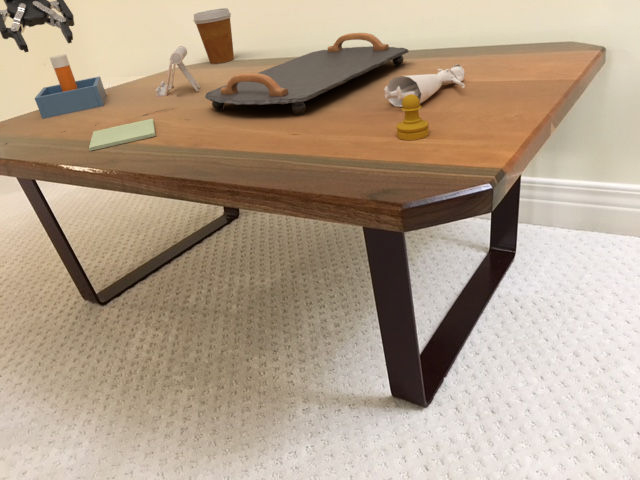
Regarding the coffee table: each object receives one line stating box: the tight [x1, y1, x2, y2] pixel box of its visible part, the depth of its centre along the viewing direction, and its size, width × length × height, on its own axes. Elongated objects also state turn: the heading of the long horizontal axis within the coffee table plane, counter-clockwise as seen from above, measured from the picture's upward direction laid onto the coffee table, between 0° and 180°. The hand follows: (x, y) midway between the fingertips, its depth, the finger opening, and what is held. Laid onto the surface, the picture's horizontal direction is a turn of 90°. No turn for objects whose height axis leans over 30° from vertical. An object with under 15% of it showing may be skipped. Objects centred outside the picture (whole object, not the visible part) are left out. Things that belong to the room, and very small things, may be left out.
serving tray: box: [204, 32, 410, 117], centre depth 97 cm, size 39×23×6 cm, turn 144°
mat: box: [88, 118, 157, 152], centre depth 88 cm, size 10×10×1 cm
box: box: [34, 76, 107, 120], centre depth 110 cm, size 12×12×5 cm
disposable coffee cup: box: [192, 7, 235, 65], centre depth 137 cm, size 10×10×12 cm
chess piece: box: [395, 94, 430, 141], centre depth 66 cm, size 4×4×5 cm
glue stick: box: [49, 54, 78, 92], centre depth 109 cm, size 3×3×10 cm
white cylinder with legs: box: [155, 46, 201, 98], centre depth 109 cm, size 9×8×8 cm
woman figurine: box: [383, 63, 466, 107], centre depth 81 cm, size 12×4×18 cm
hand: (48, 44), depth 110 cm, fingers open, 8 cm apart
